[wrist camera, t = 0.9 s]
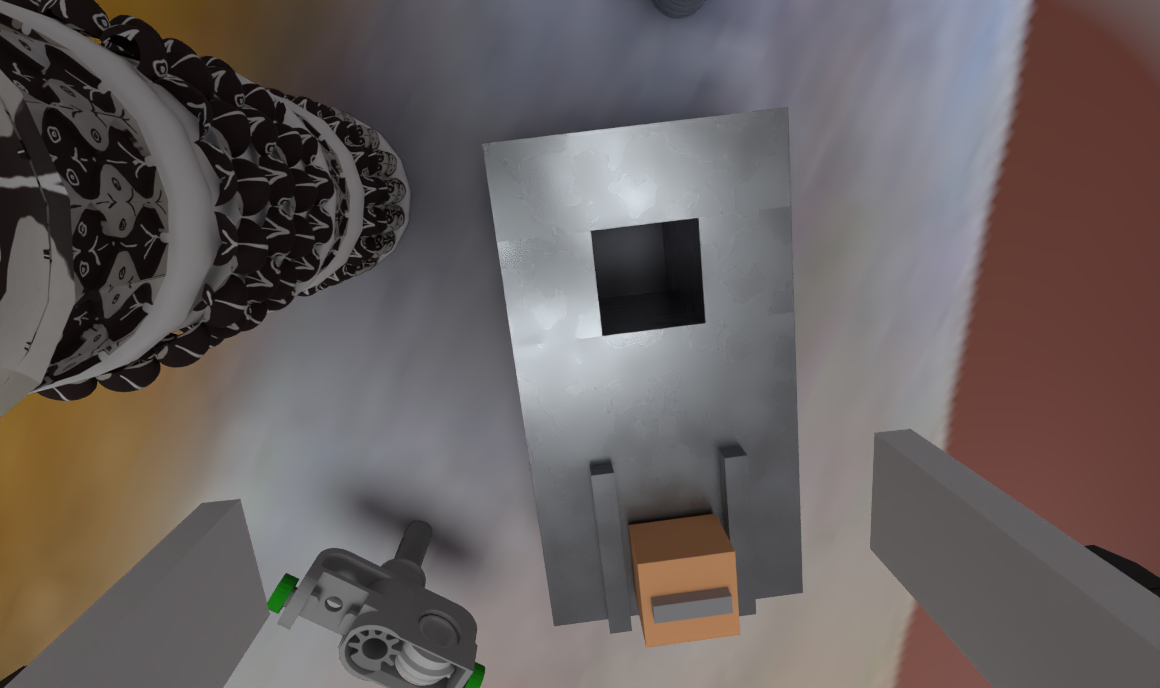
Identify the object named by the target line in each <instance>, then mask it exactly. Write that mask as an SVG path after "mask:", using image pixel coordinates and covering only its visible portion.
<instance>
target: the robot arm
mask: <svg viewBox="0 0 1160 688" xmlns="http://www.w3.org/2000/svg"><path fill="white" fill-rule="evenodd" d="M870 549H871V550H872V551H873V552H874V553H875V554H876V556H877V557H878V558H879V559H880V560H881V561H882V562H883V563H884V565H885V566H886V567H887V568H888V569H889V570H890V571H891V572H892V574H893V575H894V576H895V577H896V578H897V579H898V580H899V582H900V583H901V584H902V585H903V586H904V587H905V588H906V589H907V591H908V592H909V593H910V594H911V595H912V596H913V597H914V598H915V600H916V601H917V602H918V603H919V604H920V605H921V606H922V607H923V609H924V610H925V611H926V612H927V613H928V614H929V615H930V617H931V618H932V619H933V620H934V621H935V622H936V623H937V624H938V626H939V627H940V628H941V629H942V630H943V631H944V632H945V633H946V635H947V636H948V637H949V638H950V639H951V640H952V641H953V643H954V644H955V645H956V646H957V647H958V648H959V649H960V650H961V651H962V653H963V654H964V655H965V656H966V657H967V658H968V659H969V661H971V663H972V664H973V665H974V666H975V667H976V668H977V670H978V671H979V672H980V673H981V674H982V675H983V676H984V678H985V679H986V680H987V681H988V682H989V683H990V684H991V685H992V687H993V688H1160V578H1159V577H1157V576H1156V575H1154V574H1153V573H1151V572H1149V571H1148V570H1147V569H1145V568H1143V567H1142V566H1140V565H1139V564H1137V563H1135V562H1133V561H1131V560H1128V559H1126V558H1123V557H1121V556H1119V555H1116V554H1114V553H1112V552H1109V551H1107V550H1105V549H1102V548H1100V547H1097V546H1095V545H1089V546H1082V545H1081V544H1080V543H1078V542H1077V541H1075V540H1074V539H1072V538H1071V537H1069V536H1068V535H1066V534H1065V533H1063V532H1062V531H1060V530H1059V529H1057V528H1056V527H1055V526H1053V525H1052V524H1050V523H1049V522H1047V521H1045V520H1044V519H1042V518H1041V517H1040V516H1038V515H1037V514H1035V513H1034V512H1032V511H1031V510H1029V509H1028V508H1026V507H1025V506H1023V505H1022V504H1020V503H1019V502H1018V501H1016V500H1015V499H1013V498H1012V497H1010V496H1009V495H1007V494H1006V493H1004V492H1003V491H1001V490H1000V489H998V488H997V487H995V486H994V485H992V484H991V483H989V482H988V481H986V480H985V479H983V478H982V477H981V476H979V475H978V474H976V473H975V472H973V471H972V470H970V469H969V468H967V467H966V466H964V465H962V464H961V463H960V462H958V461H957V460H956V459H954V458H952V457H951V456H950V455H948V454H947V453H945V452H944V451H942V450H941V449H939V448H938V447H936V446H935V445H933V444H932V443H930V442H929V441H927V440H926V439H924V438H923V437H922V436H920V435H919V434H917V433H916V432H914V431H913V430H911V429H906V430H897V431H887V432H877V433H875V436H874V461H873V487H872V512H871V537H870ZM269 615H270V613H269V609H268V605H267V601H266V597H265V593H264V590H263V586H262V582H261V578H260V574H259V570H258V566H257V562H256V558H255V555H254V551H253V547H252V543H251V539H250V535H249V531H248V527H247V524H246V520H245V516H244V512H243V508H242V504H241V500H240V499H236V500H227V501H217V502H208V503H202V504H200V505H199V506H198V507H197V508H196V509H195V510H194V511H193V512H192V513H191V514H190V515H189V516H188V517H187V518H185V519H184V520H183V521H182V522H181V523H180V524H179V525H178V526H177V527H176V528H175V529H174V530H173V531H171V532H170V533H169V534H168V535H167V536H166V537H165V538H164V539H163V540H162V541H161V542H160V543H159V544H158V545H156V546H155V547H154V548H153V549H152V550H151V551H150V552H149V553H148V554H147V555H146V556H145V557H144V558H143V559H141V560H140V561H139V562H138V563H137V564H136V565H135V566H134V567H133V568H132V569H131V570H130V571H129V572H127V573H126V574H125V575H124V576H123V577H122V578H121V579H120V580H119V581H118V582H117V583H116V584H115V585H114V586H112V587H111V588H110V589H109V590H108V591H107V592H106V593H105V594H104V595H103V596H102V597H101V598H100V599H98V600H97V601H96V602H95V603H94V604H93V605H92V606H91V607H90V608H89V609H88V610H87V611H86V612H85V613H83V614H82V615H81V616H80V617H79V618H78V619H77V620H76V621H75V622H74V623H73V624H72V625H71V626H69V627H68V628H67V629H66V630H65V631H64V632H63V633H62V634H61V635H60V636H59V637H58V638H57V639H56V640H54V641H53V642H52V643H51V644H50V645H49V646H48V647H47V648H46V649H45V650H44V651H43V652H42V653H41V654H39V655H38V656H37V657H36V658H35V659H34V660H33V661H32V662H31V663H30V664H29V665H28V666H23V667H21V668H20V669H18V670H17V671H15V672H14V673H12V674H11V675H9V676H8V677H6V678H5V679H3V680H2V681H0V688H223V687H224V685H225V684H226V682H227V681H228V679H229V677H230V676H231V674H232V673H233V671H234V670H235V668H236V666H237V665H238V663H239V662H240V660H241V659H242V657H243V656H244V654H245V652H246V651H247V649H248V648H249V646H250V645H251V643H252V641H253V640H254V638H255V637H256V635H257V634H258V632H259V631H260V629H261V627H262V626H263V624H264V623H265V621H266V620H267V618H268V616H269Z"/></svg>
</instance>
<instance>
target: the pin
mask: <svg viewBox="0 0 1160 688" xmlns="http://www.w3.org/2000/svg"><path fill="white" fill-rule="evenodd" d="M705 1H706V0H652V2H653V4H654V5H655V7H656V8H657V9H658V10H659V11H660V12H661V13H663V14H664V15H666V16H668V17H671V18H685V17H688V16H690V15H692V14H694V13H695V12H696V11H697V10H698V9H699V8H700V7H701V6H702V5H703V4H704V2H705Z"/></svg>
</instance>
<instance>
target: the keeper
mask: <svg viewBox="0 0 1160 688" xmlns="http://www.w3.org/2000/svg"><path fill="white" fill-rule="evenodd" d="M628 529H629V538H630V547H631V556H632V566H633V575H634V584H635V593H636V602H637V606H638V611H639V616H640V620H641V625H642V630H643V634H644V639H645V644H646V647H653V646H661V645H668V644H675V643H683V642H690V641H697V640H705V639H712V638H720V637H727V636H734V635H740V624H739V608H738V591H737V575H736V558H735V550H734V548H733V546H732V544H731V543H730V541H729V539H728V537H727V535H726V533H725V531H724V529H723V527H722V525H721V523H720V521H719V519H718V517H717V515H716V514H709V515H701V516H694V517H686V518H678V519H671V520H663V521H656V522H648V523H640V524H633V525H628Z"/></svg>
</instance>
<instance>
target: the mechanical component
mask: <svg viewBox="0 0 1160 688" xmlns="http://www.w3.org/2000/svg"><path fill="white" fill-rule="evenodd" d="M430 538H431V528H430V526H429V525H428V524H427V523H425V522H423V521H414V522H413V523H412V524H411V525H410V526H409V528H408V530H407V532H405V533H404V536H403V538H402V540H401V542H400V545H399V548H398V550H397V553H396V555H395V558H394V559H392V560H389V561H387V562H385V563H384V564H383V565H382V566H381V567H380V566H378V565H376V564H374V563H372V562H370V561H368V560H366V559H364V558H362V557H359V556H357V555H355V554H353V553H351V552H349V551H347V550H344V549H339V548H330V549H326V550H323V551H322V552H321V553H320V554H319V555H318V556H317V558H316V560H315V561H314V563H313V564H312V566H311V567H310V569H309V571H308V572H307V574H306V575H305V577H304V579H303V580H302V582H301V584H300V585H299V587H298V588H297V587H295V586H296V584H297V582H298V581H299V579H298V578H296V577H294V576H292V575H289V574H287V573H286V574H285V575H284V577H283V578H282V580H281V581H280V583H279V584H278V586H277V588H276V589H275V591H274V592H273V594H272V596H271V597H270V599H269V601H268V602H267V605H268V609H269V610H271V611H273V612H275V613H279V612H280V610H281V609H282V607H283V606H284V607H286V609H285V610H284V612H283V614H282V615H281V617H280V619H279V621H278V622H277V624H279V625H281V626H283V627H285V628H287V629H290V628H291V626H292V625H293V623H294V621H295V620H296V618H297V616H298V615H299V616H301V617H303V618H305V619H308V620H310V621H312V622H314V623H316V624H318V625H321V626H323V627H325V628H327V629H329V630H331V631H334V632H336V633H338V634H340V635H342V636H343V638H342V640H341V642H340V644H339V646H338V648H340V649H339V657H340V660H341V663H342V665H343V666H344V668H345V669H346V670H347V671H348V672H349V673H350V674H352V675H353V676H355V677H357V678H359V679H362V680H365V681H372V682H375V683H377V684H379V685H381V686H384V687H386V688H480V686H481V683H482V681H483V677H484V674H485V667H484V666H483V665H481V664H478V663H476V662H475V658H476V651H477V644H476V643H475V640H476V633H477V625H476V622H475V620H474V618H473V617H472V615H471V614H470V613H469V612H468V611H467V610H466V609H465V608H463V607H462V606H460V605H458V604H456V603H454V602H452V601H450V600H448V599H446V598H444V597H442V596H440V595H438V594H435V593H433V592H431V591H429V590H427V589H425V583H426V578H425V574H424V572H423V570H422V569H421V565H422V562H423V559H424V556H425V553H426V550H427V547H428V545H429V541H430ZM327 599H328V600H330V601H332V602H334V603H336V604H338V605H341V607H339V608H334V607H331V606H330V605H329V604H328V603H327ZM395 664H396V666H397V668H398V669H399V671H400V672H401V673H402V674H403V675H404V676H405V677H406V678H407V679H409V680H411V681H412V682H415V683H417V684H422V685H426V686H418V685H414V684H411V683H410V682H408V681H406V680H405V679H404V678H403V677H402V676H401V675H400V674H399V673H398V671H397V669H396V666H395Z"/></svg>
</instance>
